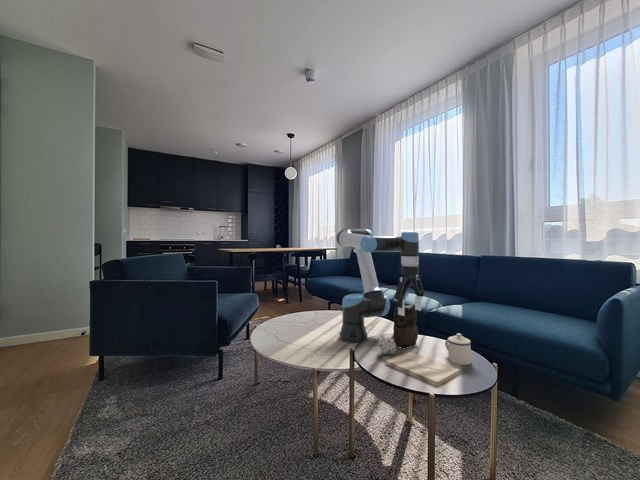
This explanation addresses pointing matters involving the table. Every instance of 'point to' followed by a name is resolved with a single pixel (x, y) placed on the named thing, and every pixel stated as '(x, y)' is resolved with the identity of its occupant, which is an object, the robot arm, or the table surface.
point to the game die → (388, 346)
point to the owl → (405, 327)
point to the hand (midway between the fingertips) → (409, 312)
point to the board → (423, 368)
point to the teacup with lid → (459, 349)
